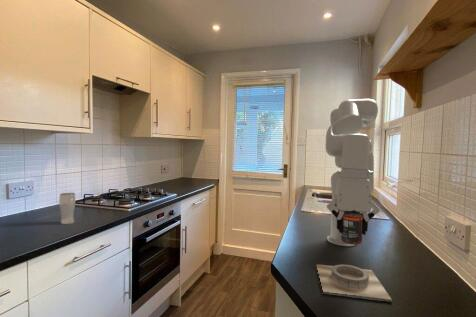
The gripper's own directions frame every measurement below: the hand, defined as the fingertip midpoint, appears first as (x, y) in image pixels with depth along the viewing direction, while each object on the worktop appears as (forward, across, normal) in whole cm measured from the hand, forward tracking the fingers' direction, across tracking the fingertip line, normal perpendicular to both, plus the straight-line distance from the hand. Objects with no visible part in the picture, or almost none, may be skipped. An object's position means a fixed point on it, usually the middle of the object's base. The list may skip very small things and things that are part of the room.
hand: (351, 232), depth 83 cm
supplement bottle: (+3, 0, 0) cm, 3 cm away
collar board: (+16, 0, 0) cm, 16 cm away
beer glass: (+16, +131, -32) cm, 136 cm away
